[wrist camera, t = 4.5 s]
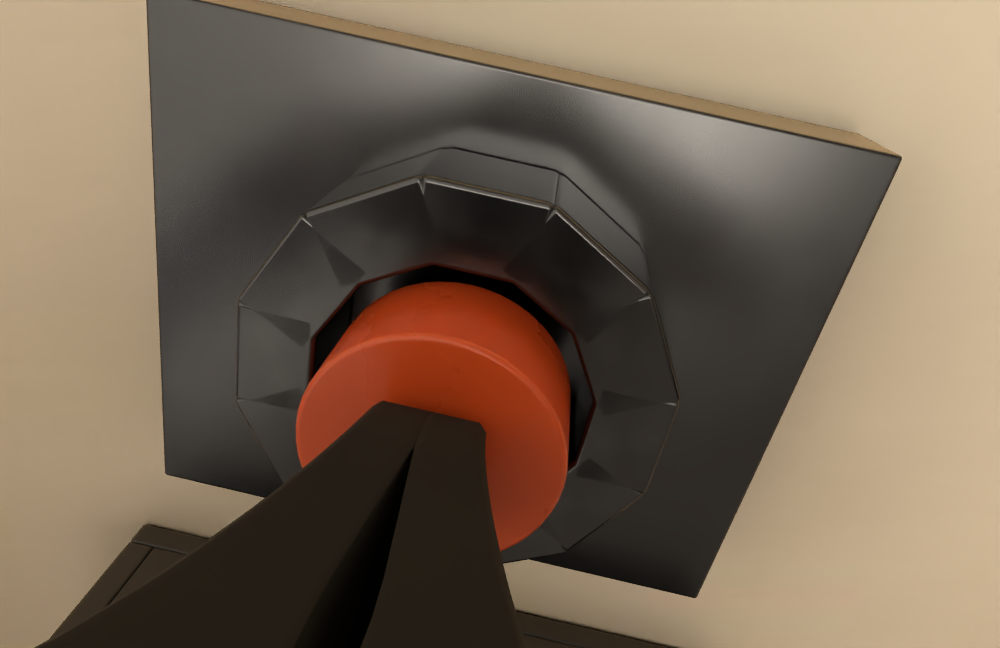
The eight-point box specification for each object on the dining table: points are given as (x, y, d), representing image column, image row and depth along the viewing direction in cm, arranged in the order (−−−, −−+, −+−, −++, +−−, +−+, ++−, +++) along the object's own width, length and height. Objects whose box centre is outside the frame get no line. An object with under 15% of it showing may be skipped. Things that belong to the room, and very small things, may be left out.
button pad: (685, 538, 15) (711, 681, 12) (206, 427, 15) (107, 539, 12) (860, 134, 11) (969, 190, 8) (204, -12, 11) (56, -13, 8)
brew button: (541, 504, 11) (534, 587, 10) (328, 455, 11) (286, 530, 10) (597, 311, 9) (600, 373, 8) (347, 253, 10) (301, 305, 8)
